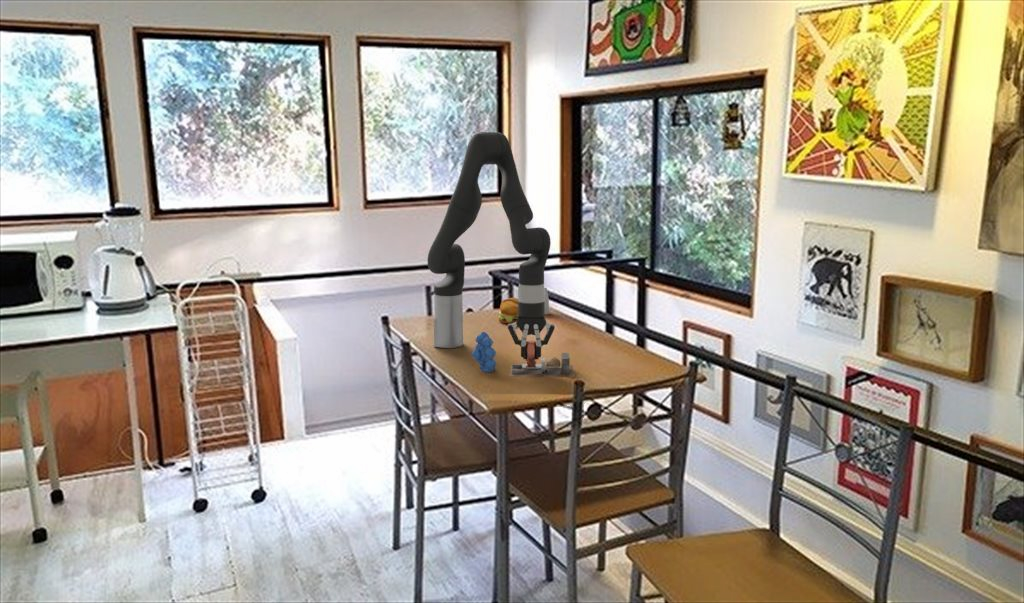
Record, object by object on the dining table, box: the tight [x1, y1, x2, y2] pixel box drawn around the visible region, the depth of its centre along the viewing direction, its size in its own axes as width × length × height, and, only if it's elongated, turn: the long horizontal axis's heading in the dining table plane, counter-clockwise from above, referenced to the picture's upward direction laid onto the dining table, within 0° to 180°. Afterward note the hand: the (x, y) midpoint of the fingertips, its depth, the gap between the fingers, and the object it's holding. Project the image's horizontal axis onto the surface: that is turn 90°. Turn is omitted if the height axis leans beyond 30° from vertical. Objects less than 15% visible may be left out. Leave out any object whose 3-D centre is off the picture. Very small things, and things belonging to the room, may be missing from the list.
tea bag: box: [544, 287, 550, 315], centre depth 294 cm, size 4×7×10 cm, turn 116°
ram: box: [521, 340, 546, 372], centre depth 216 cm, size 6×4×8 cm, turn 89°
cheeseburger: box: [498, 297, 518, 325], centre depth 281 cm, size 10×11×10 cm
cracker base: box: [509, 352, 575, 378], centre depth 217 cm, size 18×11×6 cm, turn 89°
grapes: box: [471, 331, 497, 373], centre depth 218 cm, size 12×7×12 cm, turn 24°
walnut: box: [545, 356, 561, 366], centre depth 216 cm, size 4×4×4 cm
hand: (531, 358), depth 216 cm, fingers closed on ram, 3 cm apart
